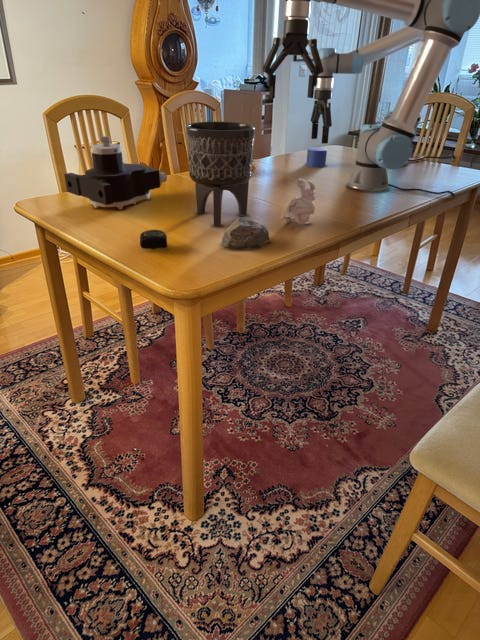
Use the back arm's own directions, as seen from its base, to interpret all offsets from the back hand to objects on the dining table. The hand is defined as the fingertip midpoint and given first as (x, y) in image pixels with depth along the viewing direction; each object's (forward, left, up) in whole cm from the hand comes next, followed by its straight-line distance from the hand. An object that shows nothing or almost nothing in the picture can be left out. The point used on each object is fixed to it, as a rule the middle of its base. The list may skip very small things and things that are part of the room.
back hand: (319, 141), depth 208 cm
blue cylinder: (0, 0, -11) cm, 11 cm away
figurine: (+35, +81, -11) cm, 89 cm away
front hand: (+32, +53, +22) cm, 65 cm away
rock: (+55, +96, -11) cm, 112 cm away
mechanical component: (+87, +50, -11) cm, 101 cm away
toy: (+38, +12, -11) cm, 41 cm away
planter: (+58, +73, -11) cm, 94 cm away
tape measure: (+79, +96, -11) cm, 125 cm away
